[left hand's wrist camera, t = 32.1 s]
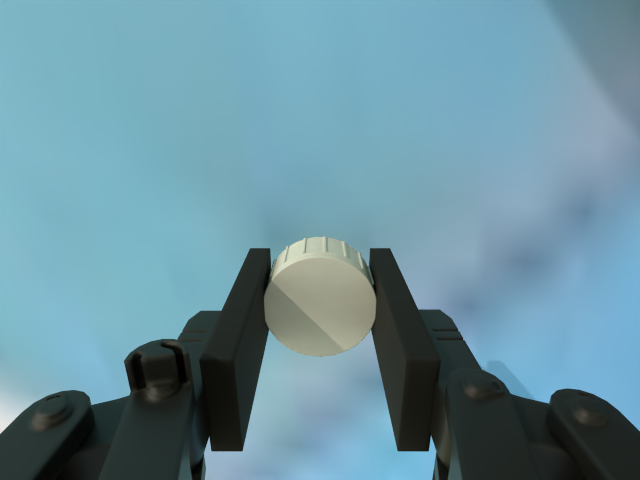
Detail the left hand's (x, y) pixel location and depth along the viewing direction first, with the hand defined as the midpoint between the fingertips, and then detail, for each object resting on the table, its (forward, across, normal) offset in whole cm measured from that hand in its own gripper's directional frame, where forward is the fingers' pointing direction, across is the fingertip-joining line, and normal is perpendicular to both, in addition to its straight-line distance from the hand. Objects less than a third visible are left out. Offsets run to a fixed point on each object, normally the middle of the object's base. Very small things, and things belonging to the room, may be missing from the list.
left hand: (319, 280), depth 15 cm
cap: (-2, 0, 0) cm, 2 cm away
